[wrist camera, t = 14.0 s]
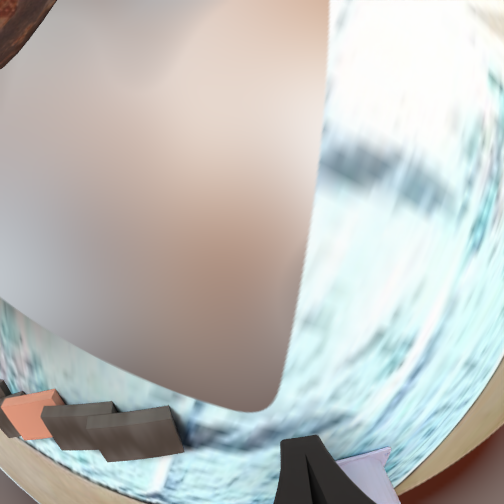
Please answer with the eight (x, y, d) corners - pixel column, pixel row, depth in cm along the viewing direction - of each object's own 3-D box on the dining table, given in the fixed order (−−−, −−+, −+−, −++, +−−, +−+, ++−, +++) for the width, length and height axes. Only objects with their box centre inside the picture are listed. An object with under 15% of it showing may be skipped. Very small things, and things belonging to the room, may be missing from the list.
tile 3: (43, 431, 19) (8, 438, 17) (47, 422, 20) (12, 430, 19) (17, 399, 18) (-16, 409, 16) (22, 390, 19) (-11, 401, 18)
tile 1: (184, 452, 19) (107, 462, 17) (181, 439, 21) (107, 449, 18) (171, 418, 18) (86, 428, 16) (168, 405, 20) (88, 416, 17)
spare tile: (75, 433, 19) (24, 440, 16) (77, 423, 20) (27, 431, 18) (51, 398, 18) (0, 407, 15) (54, 388, 19) (5, 398, 17)
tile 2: (128, 447, 19) (61, 450, 17) (128, 435, 20) (63, 439, 18) (111, 413, 18) (40, 416, 16) (112, 401, 19) (43, 405, 17)
